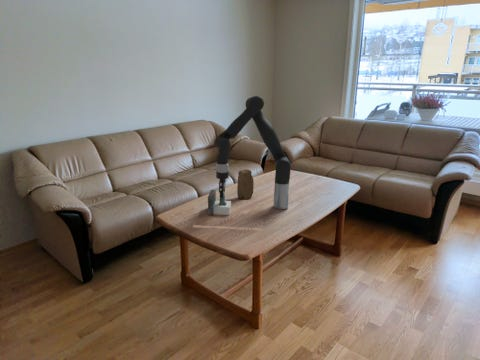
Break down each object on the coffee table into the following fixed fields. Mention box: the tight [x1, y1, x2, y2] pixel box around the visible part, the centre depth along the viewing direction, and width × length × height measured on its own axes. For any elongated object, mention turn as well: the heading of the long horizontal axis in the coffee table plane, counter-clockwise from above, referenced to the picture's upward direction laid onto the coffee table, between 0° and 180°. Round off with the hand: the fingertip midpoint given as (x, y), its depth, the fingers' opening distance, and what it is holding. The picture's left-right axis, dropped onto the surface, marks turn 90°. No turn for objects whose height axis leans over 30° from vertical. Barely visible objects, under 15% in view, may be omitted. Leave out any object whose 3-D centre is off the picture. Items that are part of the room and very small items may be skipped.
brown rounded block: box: [236, 168, 255, 200], centre depth 238 cm, size 11×8×20 cm
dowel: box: [219, 190, 226, 206], centre depth 212 cm, size 3×3×12 cm
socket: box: [213, 200, 232, 216], centre depth 214 cm, size 10×10×5 cm
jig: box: [207, 189, 217, 216], centre depth 213 cm, size 20×13×13 cm, turn 86°
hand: (222, 195), depth 211 cm, fingers open, 8 cm apart
